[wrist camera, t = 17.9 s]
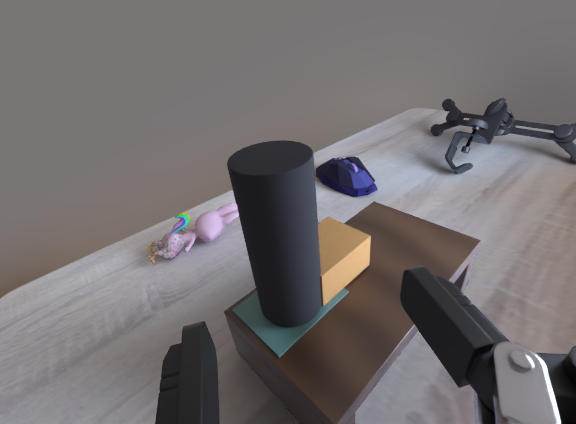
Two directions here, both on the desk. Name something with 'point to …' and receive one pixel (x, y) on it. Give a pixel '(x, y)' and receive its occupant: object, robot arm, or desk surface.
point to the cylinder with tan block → (291, 233)
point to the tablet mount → (498, 129)
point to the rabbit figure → (194, 231)
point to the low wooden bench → (350, 320)
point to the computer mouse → (346, 176)
